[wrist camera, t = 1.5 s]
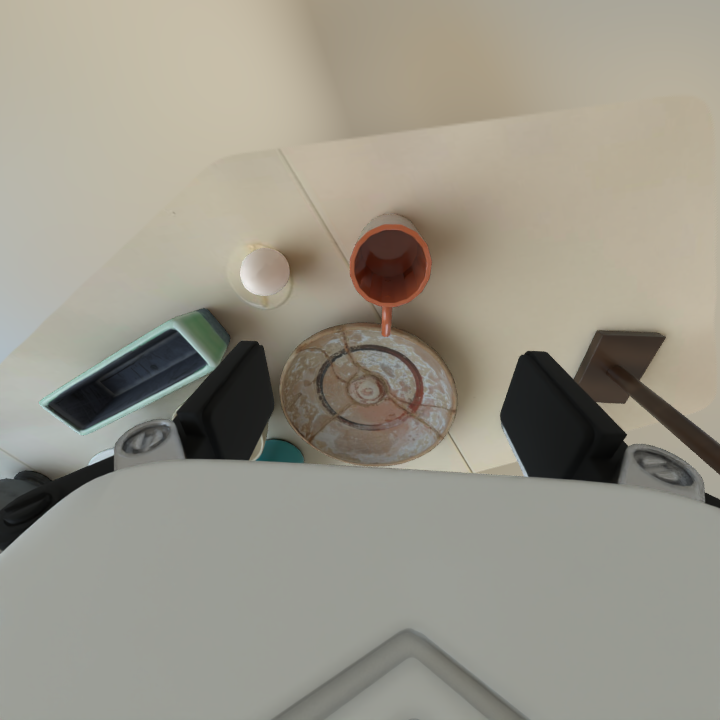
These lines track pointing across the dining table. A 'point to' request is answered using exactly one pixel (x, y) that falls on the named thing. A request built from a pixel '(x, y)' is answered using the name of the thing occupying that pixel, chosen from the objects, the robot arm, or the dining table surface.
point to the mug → (390, 264)
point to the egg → (264, 271)
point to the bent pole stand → (638, 385)
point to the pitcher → (20, 486)
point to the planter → (141, 372)
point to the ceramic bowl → (368, 395)
